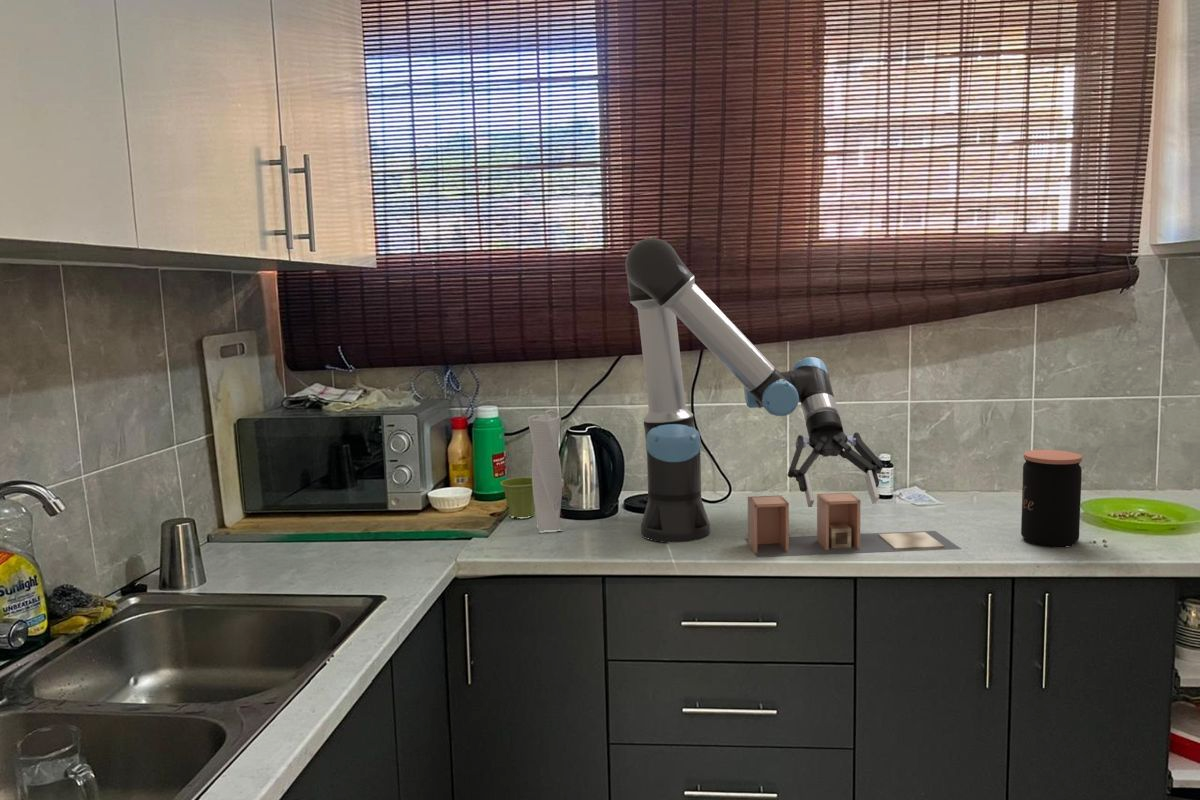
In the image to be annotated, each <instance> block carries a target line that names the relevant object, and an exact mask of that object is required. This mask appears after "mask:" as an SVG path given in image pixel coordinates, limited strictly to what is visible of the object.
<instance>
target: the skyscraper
mask: <svg viewBox="0 0 1200 800" xmlns="http://www.w3.org/2000/svg"><path fill="white" fill-rule="evenodd" d="M551 412H553V413H555V414H556V415H557V416H558V417H552V414H548V413H551ZM527 422H528V426H529V427H528V428H529V433H530V434H529V435H530V439H531V442H532V447H533V449H532V451H533V452H532V459H531V460H532V461H531V478H532V487H533V497H534V505H535V517H536V525H538V529H537V531H538V530H539V531H544V530H559V529H560V530H562V527H561V524H560V518H561V517H560V516H561V510H562V509H561V508H562V495H563V494H562V492H563V474H562V464H561V458H560V455H559V451H558V442H559V438H560V437H559V436H560V431H561V429H560V428H561V422H562V417H561V416H560V413H559V412H558V411H557V410H556V409H547V410H546V411H545V412H544V414H540V413H539V414H538V413H537V414H533V415H530V416H529V417H528V418H527ZM539 531H538V532H539ZM562 531H563V530H562Z"/></svg>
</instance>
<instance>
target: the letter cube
mask: <svg viewBox="0 0 1200 800" xmlns="http://www.w3.org/2000/svg"><path fill="white" fill-rule="evenodd" d="M829 546H830V547H831V548H849V547H851V528H850V527H849V526H848V525H847V524H846V523H833V524H829Z"/></svg>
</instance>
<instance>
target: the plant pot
mask: <svg viewBox="0 0 1200 800" xmlns="http://www.w3.org/2000/svg"><path fill="white" fill-rule="evenodd" d="M500 485H501V487H502V489H503V492H504V496H505V500H506V501H505V502H506V505H507V506H508V507H509V512H508V516H509V515H511V516H514V517H528V516H532V515H534V514H535V515H536V512H535V505H534V497H533V487H532V477H514V478H508V479H504V480H502V481H500ZM508 507H507V508H508ZM535 515H534V516H535ZM532 517H533V516H532Z"/></svg>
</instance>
